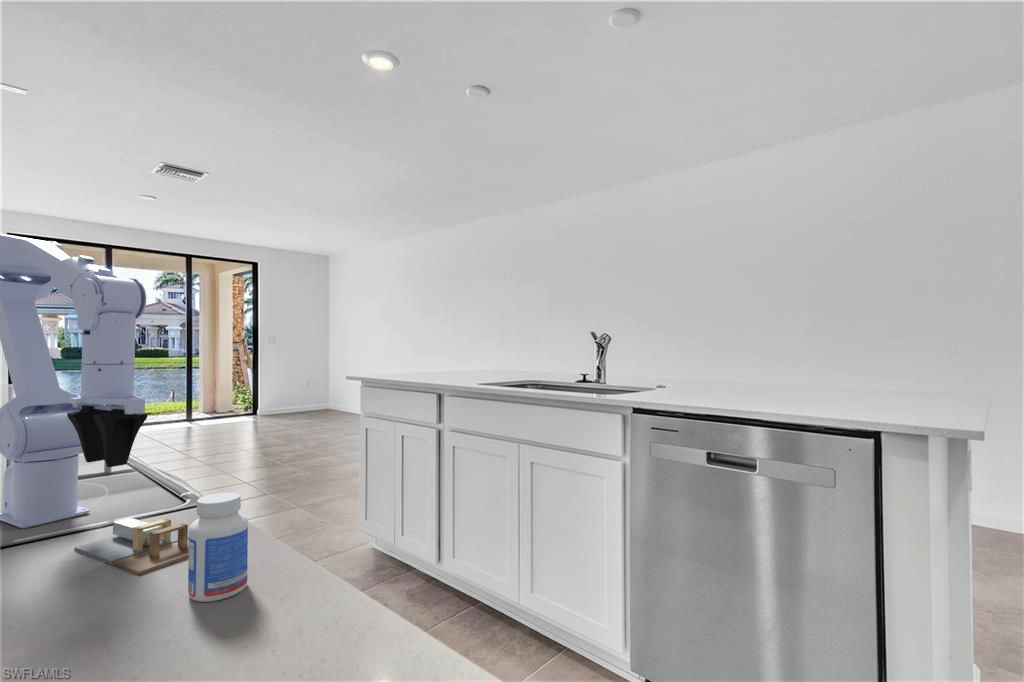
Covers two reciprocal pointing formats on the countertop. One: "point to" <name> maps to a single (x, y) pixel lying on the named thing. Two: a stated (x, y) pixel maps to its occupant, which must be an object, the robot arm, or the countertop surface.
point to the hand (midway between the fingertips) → (106, 463)
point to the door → (126, 544)
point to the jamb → (158, 552)
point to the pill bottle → (218, 548)
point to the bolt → (126, 529)
